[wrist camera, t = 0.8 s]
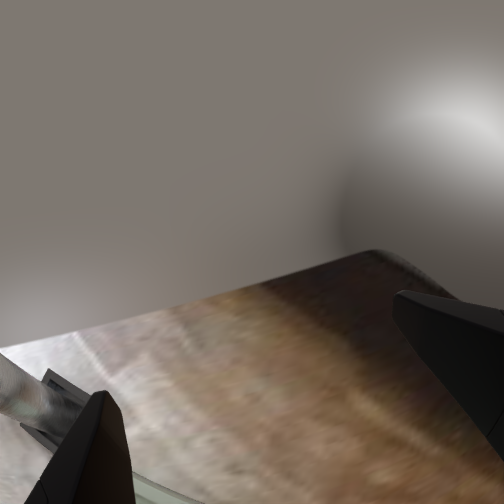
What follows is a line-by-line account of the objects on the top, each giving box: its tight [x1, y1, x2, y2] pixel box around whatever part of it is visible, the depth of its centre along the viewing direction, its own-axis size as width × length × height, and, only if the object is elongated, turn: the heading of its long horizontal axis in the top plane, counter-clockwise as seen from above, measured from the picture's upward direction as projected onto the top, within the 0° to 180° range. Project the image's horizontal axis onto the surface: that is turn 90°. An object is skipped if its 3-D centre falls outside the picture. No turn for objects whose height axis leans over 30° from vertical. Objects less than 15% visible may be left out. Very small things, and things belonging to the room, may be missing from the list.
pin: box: [0, 353, 82, 439], centre depth 14 cm, size 5×5×14 cm
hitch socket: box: [20, 368, 91, 453], centre depth 19 cm, size 6×6×2 cm
